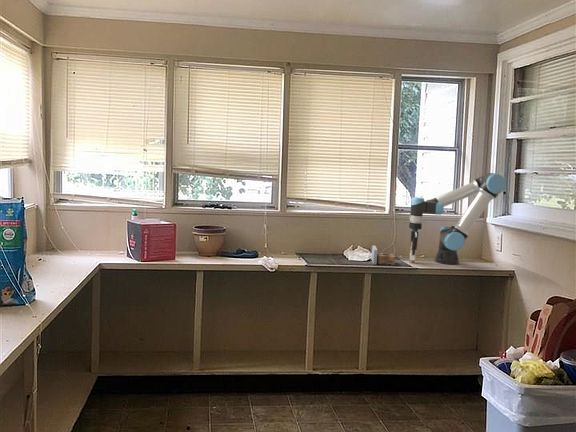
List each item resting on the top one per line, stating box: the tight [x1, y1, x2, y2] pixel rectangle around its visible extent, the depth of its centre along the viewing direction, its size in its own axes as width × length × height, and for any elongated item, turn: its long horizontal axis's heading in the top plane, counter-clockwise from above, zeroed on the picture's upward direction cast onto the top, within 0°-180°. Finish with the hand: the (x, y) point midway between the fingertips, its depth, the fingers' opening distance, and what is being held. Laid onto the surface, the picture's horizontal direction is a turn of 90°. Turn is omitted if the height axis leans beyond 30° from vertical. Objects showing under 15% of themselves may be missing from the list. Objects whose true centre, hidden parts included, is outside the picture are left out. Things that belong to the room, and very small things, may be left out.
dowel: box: [408, 241, 416, 264], centre depth 378 cm, size 3×3×13 cm
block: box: [377, 252, 396, 266], centre depth 371 cm, size 10×10×5 cm
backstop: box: [370, 245, 379, 266], centre depth 371 cm, size 2×16×9 cm, turn 177°
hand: (412, 259), depth 378 cm, fingers closed on dowel, 3 cm apart
